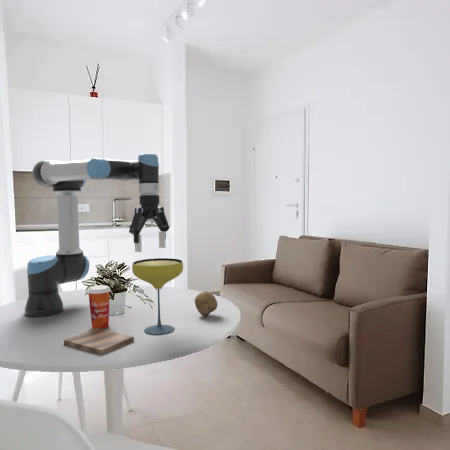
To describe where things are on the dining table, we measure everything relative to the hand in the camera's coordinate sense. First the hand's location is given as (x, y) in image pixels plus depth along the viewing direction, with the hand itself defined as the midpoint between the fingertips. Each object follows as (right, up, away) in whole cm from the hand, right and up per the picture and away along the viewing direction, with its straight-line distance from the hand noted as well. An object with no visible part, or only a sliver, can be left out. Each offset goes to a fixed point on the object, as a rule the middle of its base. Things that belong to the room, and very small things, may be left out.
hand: (150, 249), depth 159 cm
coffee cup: (-18, -29, -5) cm, 34 cm away
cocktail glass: (+5, -29, -9) cm, 31 cm away
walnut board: (-13, -30, -22) cm, 39 cm away
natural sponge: (+21, -28, +7) cm, 36 cm away
